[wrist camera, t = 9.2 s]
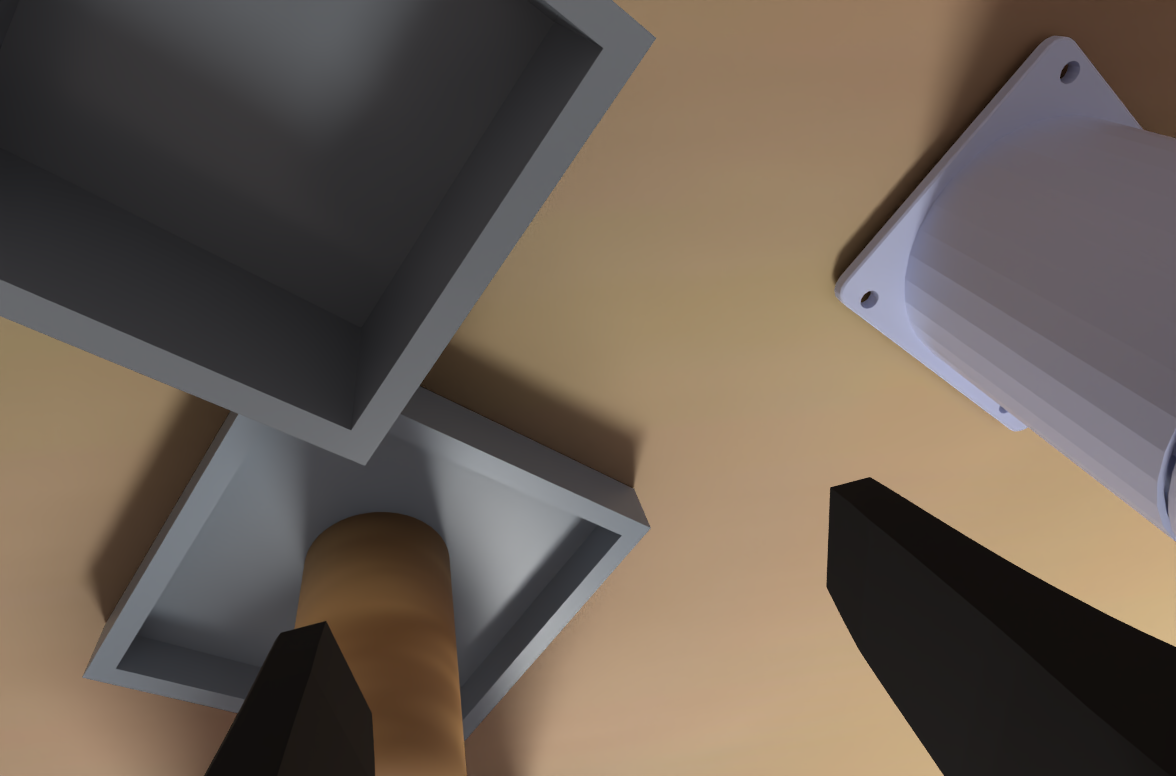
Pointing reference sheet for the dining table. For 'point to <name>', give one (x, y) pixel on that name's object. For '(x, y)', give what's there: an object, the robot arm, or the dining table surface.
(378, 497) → the tray
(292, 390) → the grey square box
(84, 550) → the dining table surface
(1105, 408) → the robot arm
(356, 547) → the dowel
